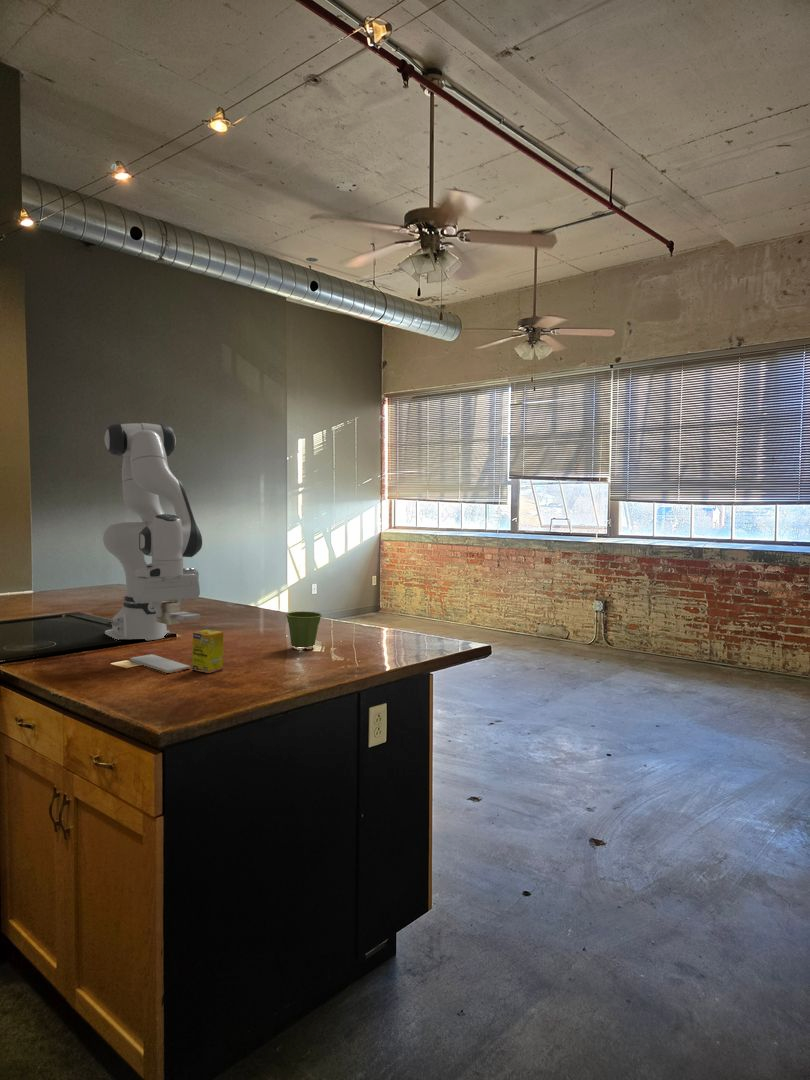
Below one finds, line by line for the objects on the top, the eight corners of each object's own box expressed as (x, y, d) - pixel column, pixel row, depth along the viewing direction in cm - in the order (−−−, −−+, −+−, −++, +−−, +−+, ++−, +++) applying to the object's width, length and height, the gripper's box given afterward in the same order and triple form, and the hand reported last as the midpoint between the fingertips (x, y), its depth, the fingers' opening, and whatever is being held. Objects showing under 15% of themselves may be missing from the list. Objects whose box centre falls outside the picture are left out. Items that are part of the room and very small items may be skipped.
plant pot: (318, 653, 217) (319, 617, 217) (281, 652, 218) (282, 616, 217) (324, 645, 229) (324, 611, 228) (288, 644, 229) (289, 610, 229)
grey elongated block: (152, 622, 205) (152, 602, 205) (168, 620, 209) (168, 600, 209) (184, 629, 194) (184, 607, 194) (200, 626, 198) (200, 606, 198)
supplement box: (191, 671, 191) (192, 632, 190) (207, 666, 196) (207, 628, 196) (208, 674, 188) (208, 634, 188) (223, 669, 194) (223, 631, 193)
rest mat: (129, 661, 200) (129, 657, 200) (152, 657, 205) (152, 654, 205) (167, 674, 187) (167, 670, 187) (190, 669, 193) (190, 666, 192)
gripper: (192, 566, 214) (192, 611, 214) (129, 570, 198) (130, 618, 199) (204, 568, 210) (204, 613, 210) (141, 572, 194) (141, 620, 195)
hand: (167, 615), depth 204 cm, fingers closed on grey elongated block, 3 cm apart
